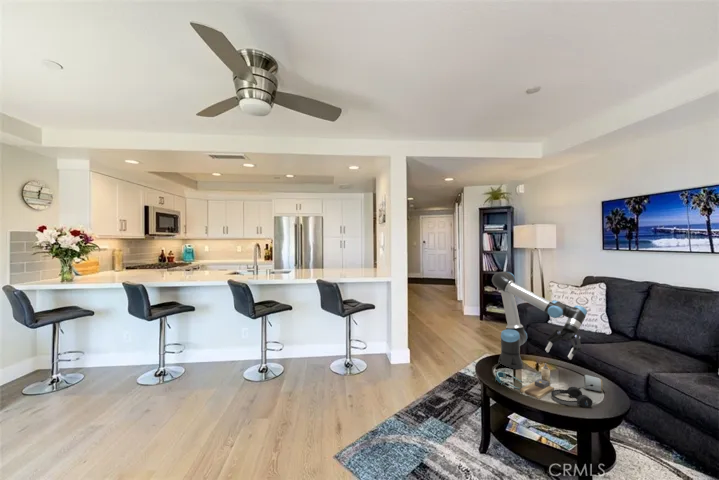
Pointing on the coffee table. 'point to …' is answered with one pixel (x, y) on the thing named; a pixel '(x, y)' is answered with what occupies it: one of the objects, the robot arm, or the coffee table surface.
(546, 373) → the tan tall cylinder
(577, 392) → the headset
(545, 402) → the coffee table surface
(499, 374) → the sunglasses
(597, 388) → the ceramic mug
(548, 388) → the plywood panel
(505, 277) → the robot arm
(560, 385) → the coffee table surface
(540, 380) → the block
